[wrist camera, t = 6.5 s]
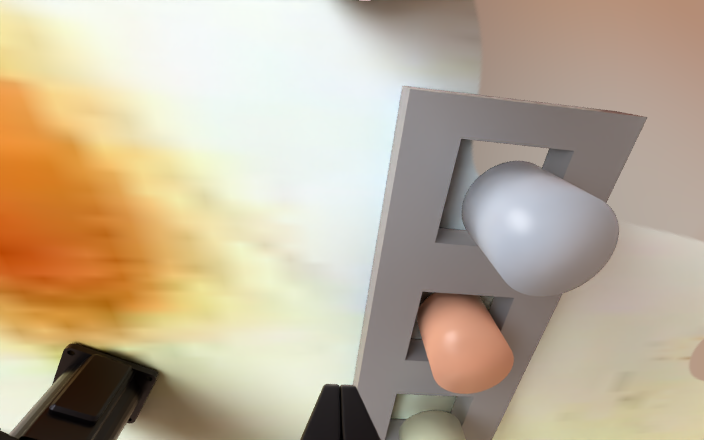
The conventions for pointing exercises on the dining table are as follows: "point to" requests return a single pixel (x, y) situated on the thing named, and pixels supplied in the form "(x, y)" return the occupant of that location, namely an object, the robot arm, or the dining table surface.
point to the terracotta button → (463, 343)
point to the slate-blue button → (538, 228)
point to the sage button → (431, 427)
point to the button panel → (465, 239)
